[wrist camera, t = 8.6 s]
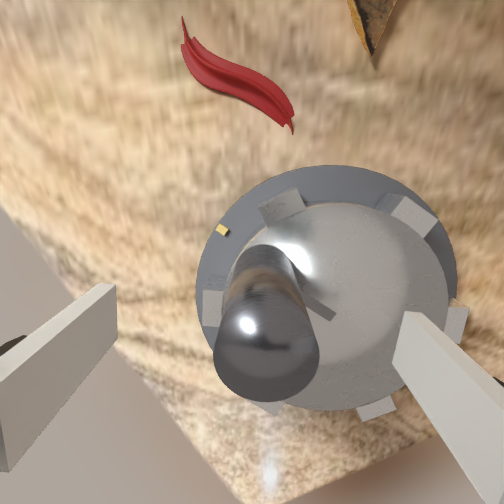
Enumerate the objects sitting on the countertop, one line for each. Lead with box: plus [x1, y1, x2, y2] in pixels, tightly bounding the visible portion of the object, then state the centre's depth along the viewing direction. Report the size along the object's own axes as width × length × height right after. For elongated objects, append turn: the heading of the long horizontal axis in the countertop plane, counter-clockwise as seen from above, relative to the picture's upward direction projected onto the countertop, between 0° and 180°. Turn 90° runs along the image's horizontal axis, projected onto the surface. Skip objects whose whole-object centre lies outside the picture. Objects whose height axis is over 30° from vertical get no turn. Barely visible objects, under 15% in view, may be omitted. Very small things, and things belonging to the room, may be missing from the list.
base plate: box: [196, 165, 457, 351], centre depth 26 cm, size 21×21×2 cm
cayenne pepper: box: [181, 17, 294, 135], centre depth 22 cm, size 12×5×2 cm, turn 38°
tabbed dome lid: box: [202, 186, 470, 422], centre depth 19 cm, size 18×19×13 cm
